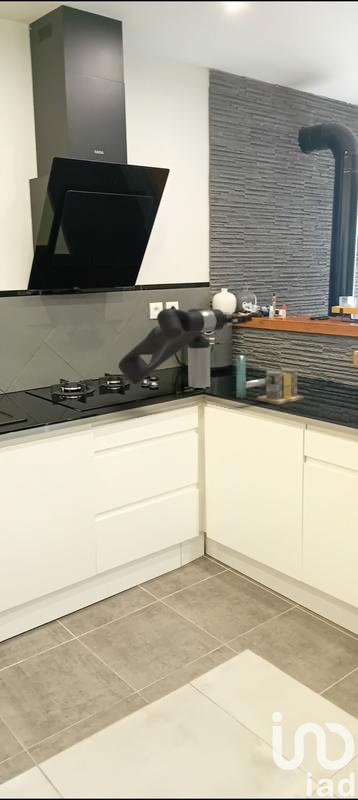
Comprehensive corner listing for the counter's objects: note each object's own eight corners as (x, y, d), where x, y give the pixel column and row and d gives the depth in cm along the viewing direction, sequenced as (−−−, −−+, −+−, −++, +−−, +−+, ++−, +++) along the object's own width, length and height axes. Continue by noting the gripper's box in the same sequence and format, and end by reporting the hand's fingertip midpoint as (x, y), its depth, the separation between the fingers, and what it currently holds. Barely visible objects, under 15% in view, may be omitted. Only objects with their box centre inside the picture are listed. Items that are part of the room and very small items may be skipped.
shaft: (240, 397, 224) (240, 356, 221) (235, 396, 226) (234, 355, 223) (276, 391, 234) (276, 351, 230) (270, 389, 236) (270, 350, 233)
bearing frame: (277, 404, 230) (277, 375, 227) (257, 399, 238) (257, 371, 236) (303, 398, 237) (304, 370, 235) (283, 394, 246) (283, 367, 244)
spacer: (283, 398, 234) (283, 374, 232) (270, 395, 240) (270, 372, 238) (291, 397, 236) (291, 373, 234) (278, 394, 242) (278, 371, 240)
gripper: (196, 329, 225) (231, 326, 234) (221, 332, 213) (256, 329, 222) (196, 309, 223) (230, 306, 232) (221, 310, 212) (256, 307, 221)
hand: (243, 317), depth 227 cm, fingers open, 8 cm apart
